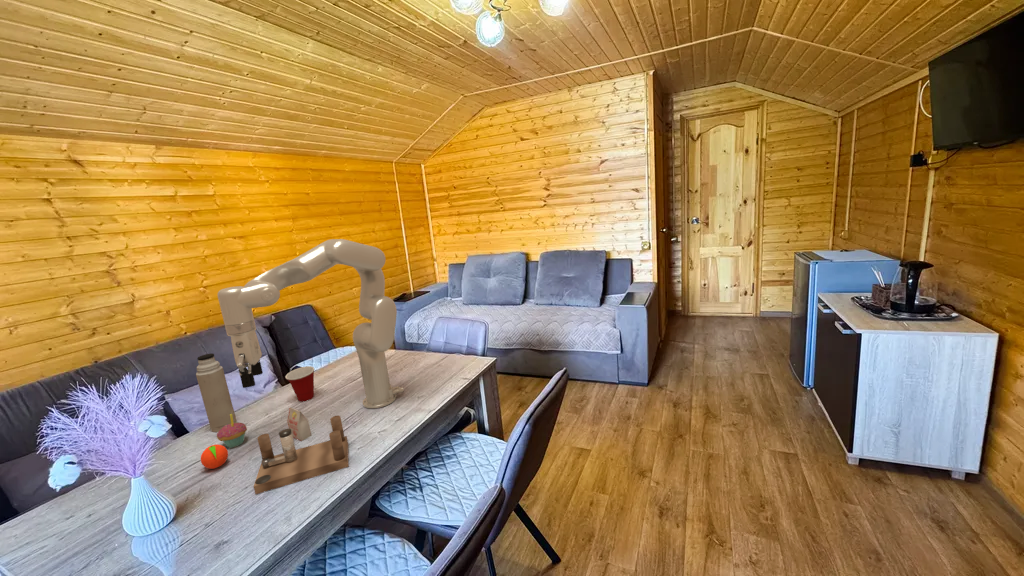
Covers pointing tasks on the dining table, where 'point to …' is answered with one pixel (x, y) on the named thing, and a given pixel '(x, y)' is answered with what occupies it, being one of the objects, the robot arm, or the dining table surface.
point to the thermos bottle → (214, 392)
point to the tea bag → (298, 424)
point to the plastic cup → (302, 382)
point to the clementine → (214, 456)
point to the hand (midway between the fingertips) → (253, 380)
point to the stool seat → (303, 460)
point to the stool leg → (287, 448)
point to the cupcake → (232, 433)
